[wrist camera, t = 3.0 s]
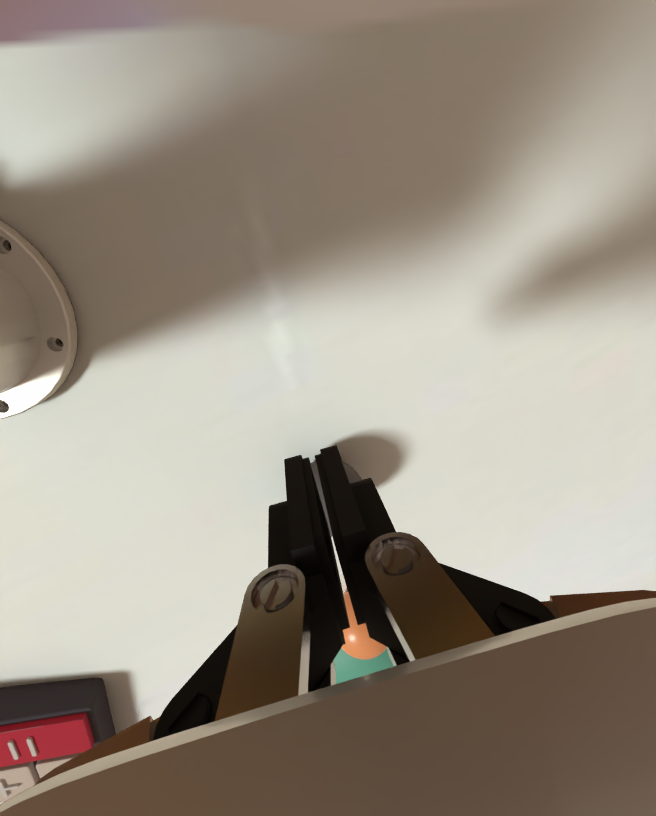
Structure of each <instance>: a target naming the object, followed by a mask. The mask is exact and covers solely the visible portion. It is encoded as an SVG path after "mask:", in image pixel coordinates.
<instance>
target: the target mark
mask: <svg viewBox="0 0 656 816" xmlns="http://www.w3.org/2000/svg"><path fill="white" fill-rule="evenodd" d="M333 661H334V664H335V670H336V684H338V683H341V682H345V681H348V680H351V679H354V678H358V677H361V676H364V675H368V674H371V673H374V672H378V671H381V670H384V669H388V668H391V667H394V666H393V663H392V661H391V659H390V657H389V654H388V651H387V649H386V650H385V651H384V652H383V653H382V654H380V655H379V656H377V657H375V658H372V659H367V660H362V659H357V658H354V657H352V656H350V655H348V654H347V653H346V652H345V651H343V650H342V648H341V649H340V651H339V652H338V654H337V655H336V657H335V659H334V660H333Z"/></svg>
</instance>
